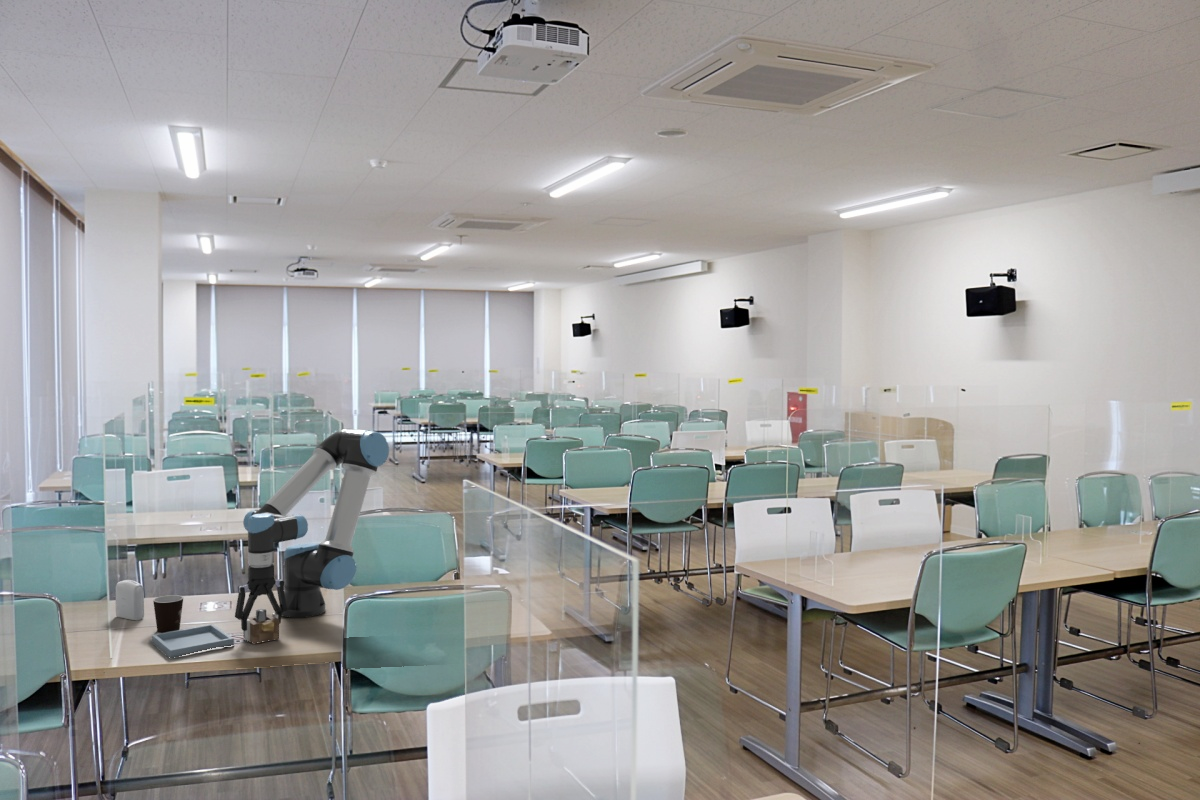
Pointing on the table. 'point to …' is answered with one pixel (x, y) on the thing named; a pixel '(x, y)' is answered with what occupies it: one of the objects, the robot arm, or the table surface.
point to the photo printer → (129, 600)
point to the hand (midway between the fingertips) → (261, 637)
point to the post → (260, 615)
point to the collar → (264, 629)
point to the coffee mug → (168, 612)
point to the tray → (191, 640)
